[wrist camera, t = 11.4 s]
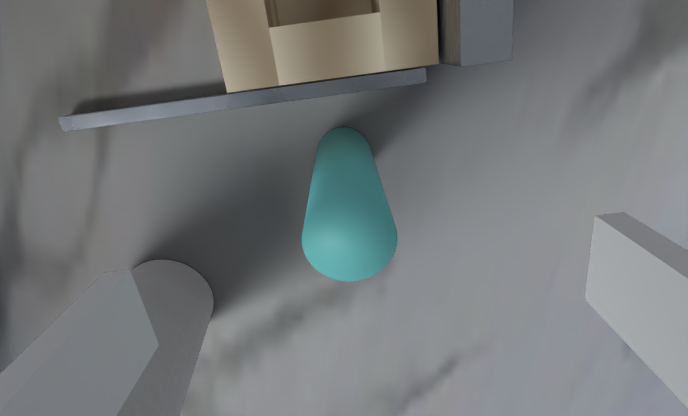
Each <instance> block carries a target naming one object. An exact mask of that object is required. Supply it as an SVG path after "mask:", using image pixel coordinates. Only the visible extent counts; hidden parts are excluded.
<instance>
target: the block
mask: <svg viewBox="0 0 688 416" xmlns="http://www.w3.org/2000/svg"><path fill="white" fill-rule="evenodd" d="M206 3H207V8H208V12H209V16H210V21H211V25H212V29H213V34H214V38H215V42H216V46H217V51H218V55H219V59H220V64H221V68H222V72H223V77H224V81H225V85H226V90H227V93H229V92H236V91H243V90H251V89H258V88H265V87H273V86H280V85H288V84H295V83H302V82H310V81H317V80H324V79H332V78H339V77H346V76H354V75H361V74H368V73H376V72H383V71H390V70H398V69H405V68H413V67H420V66H427V65H435V64H439V57H438V29H437V0H206Z"/></svg>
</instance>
